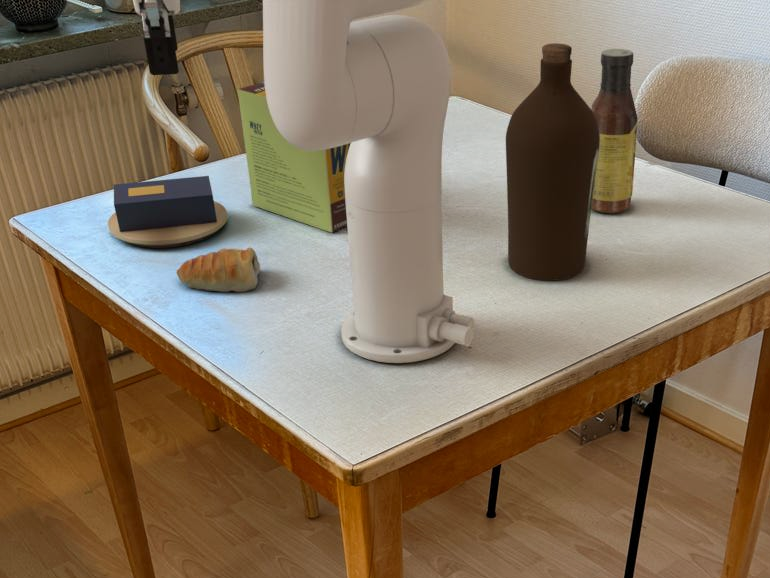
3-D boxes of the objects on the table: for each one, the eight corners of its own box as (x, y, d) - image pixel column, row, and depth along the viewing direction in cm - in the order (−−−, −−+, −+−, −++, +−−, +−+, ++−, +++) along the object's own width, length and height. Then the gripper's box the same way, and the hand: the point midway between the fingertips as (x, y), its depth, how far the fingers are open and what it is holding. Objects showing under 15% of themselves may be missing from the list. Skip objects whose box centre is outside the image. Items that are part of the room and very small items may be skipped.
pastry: (176, 296, 116) (170, 264, 113) (183, 271, 121) (177, 241, 119) (258, 292, 116) (254, 261, 114) (262, 268, 122) (258, 238, 119)
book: (222, 195, 138) (217, 163, 135) (232, 237, 127) (227, 204, 124) (108, 206, 135) (101, 174, 132) (108, 250, 123) (100, 217, 121)
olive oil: (514, 287, 118) (520, 62, 103) (494, 250, 126) (497, 36, 111) (601, 279, 120) (619, 57, 104) (576, 243, 128) (590, 32, 112)
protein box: (333, 234, 130) (322, 111, 120) (251, 206, 137) (235, 88, 128) (387, 209, 136) (380, 91, 127) (306, 184, 144) (294, 70, 134)
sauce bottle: (639, 210, 136) (655, 55, 124) (599, 218, 134) (612, 61, 122) (614, 194, 141) (627, 43, 129) (575, 201, 139) (585, 49, 127)
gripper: (172, -93, 103) (199, 81, 113) (171, -117, 116) (195, 42, 126) (95, -92, 101) (130, 85, 112) (103, -116, 114) (133, 45, 125)
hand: (164, 62), depth 119 cm, fingers open, 9 cm apart
